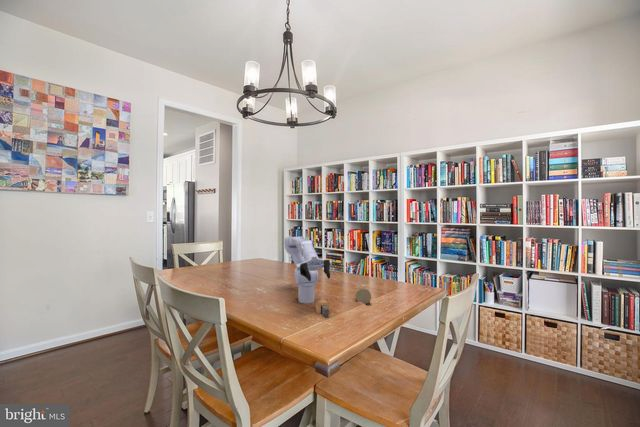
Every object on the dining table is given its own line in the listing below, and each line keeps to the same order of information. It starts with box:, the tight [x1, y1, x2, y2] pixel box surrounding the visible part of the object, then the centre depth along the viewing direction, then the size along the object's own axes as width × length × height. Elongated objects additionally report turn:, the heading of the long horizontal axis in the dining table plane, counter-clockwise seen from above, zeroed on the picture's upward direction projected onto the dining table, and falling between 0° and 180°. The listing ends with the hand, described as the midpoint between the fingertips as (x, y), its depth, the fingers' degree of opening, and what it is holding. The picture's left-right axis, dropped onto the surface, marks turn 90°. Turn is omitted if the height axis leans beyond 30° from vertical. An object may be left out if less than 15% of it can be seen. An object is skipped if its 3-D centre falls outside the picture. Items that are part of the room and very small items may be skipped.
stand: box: [316, 298, 330, 319], centre depth 118 cm, size 18×8×4 cm, turn 13°
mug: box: [354, 287, 372, 305], centre depth 134 cm, size 8×10×10 cm
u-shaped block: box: [315, 298, 331, 315], centre depth 118 cm, size 4×5×4 cm
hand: (319, 277), depth 112 cm, fingers open, 7 cm apart
